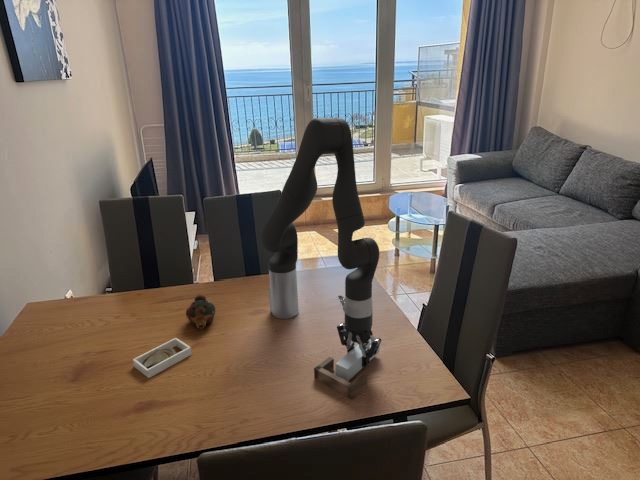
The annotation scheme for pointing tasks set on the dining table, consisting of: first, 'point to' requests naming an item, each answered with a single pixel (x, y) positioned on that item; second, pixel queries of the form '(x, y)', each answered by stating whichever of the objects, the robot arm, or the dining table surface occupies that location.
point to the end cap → (339, 379)
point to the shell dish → (166, 363)
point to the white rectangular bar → (351, 363)
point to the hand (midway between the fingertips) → (358, 362)
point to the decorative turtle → (200, 311)
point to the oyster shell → (159, 356)
